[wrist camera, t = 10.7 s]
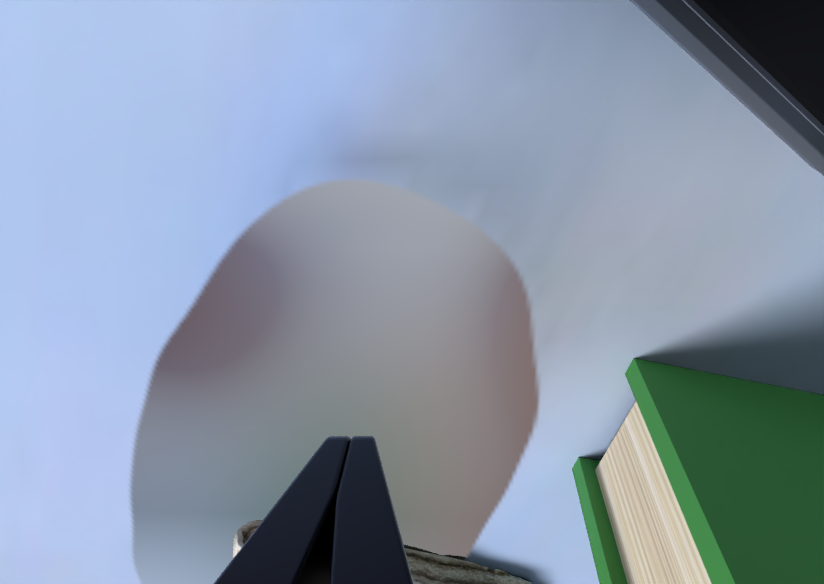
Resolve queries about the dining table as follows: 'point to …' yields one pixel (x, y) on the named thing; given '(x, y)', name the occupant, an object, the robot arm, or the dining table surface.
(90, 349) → the dining table surface
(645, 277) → the dining table surface
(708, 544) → the hardback book
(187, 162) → the dining table surface
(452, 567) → the washcloth
